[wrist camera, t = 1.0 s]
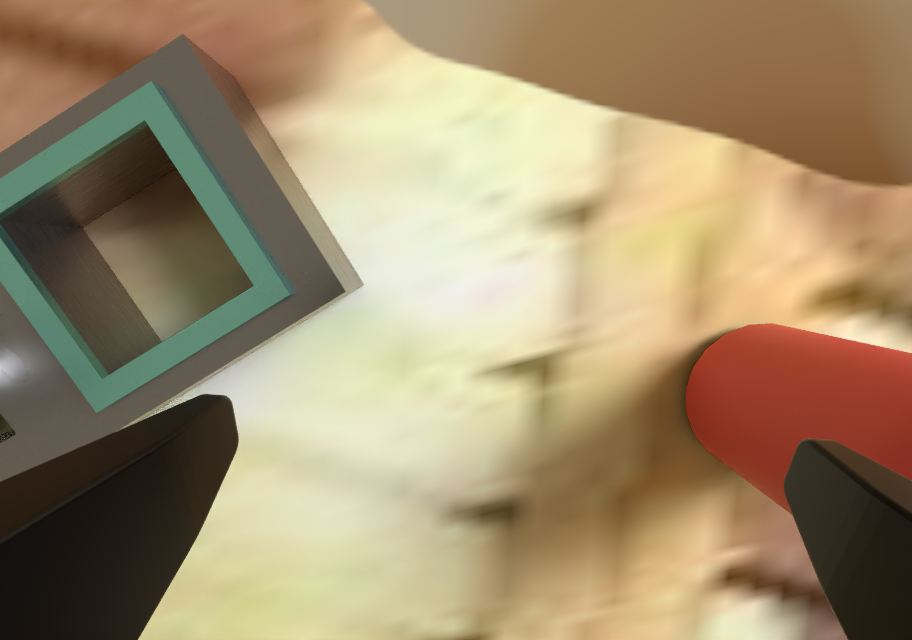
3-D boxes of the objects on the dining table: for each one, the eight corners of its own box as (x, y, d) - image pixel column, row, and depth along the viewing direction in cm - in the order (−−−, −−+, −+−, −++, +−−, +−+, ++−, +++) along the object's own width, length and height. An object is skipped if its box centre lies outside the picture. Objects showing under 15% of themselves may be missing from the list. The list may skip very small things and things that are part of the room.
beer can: (668, 455, 23) (903, 667, 11) (690, 314, 22) (969, 384, 10) (806, 467, 23) (1179, 687, 12) (834, 328, 23) (1266, 411, 11)
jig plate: (-44, 532, 23) (-159, 598, 19) (-192, 348, 22) (-352, 372, 17) (363, 284, 22) (343, 292, 18) (233, 76, 21) (176, 28, 16)
